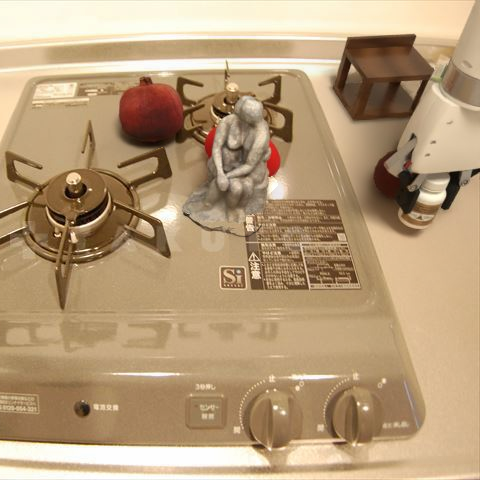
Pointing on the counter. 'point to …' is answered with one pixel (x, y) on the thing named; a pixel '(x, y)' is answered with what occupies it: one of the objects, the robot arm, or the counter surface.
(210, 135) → the heart
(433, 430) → the counter surface
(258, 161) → the sculpture
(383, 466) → the counter surface
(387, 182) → the potato
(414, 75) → the rack
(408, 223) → the pill bottle
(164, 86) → the fruit
